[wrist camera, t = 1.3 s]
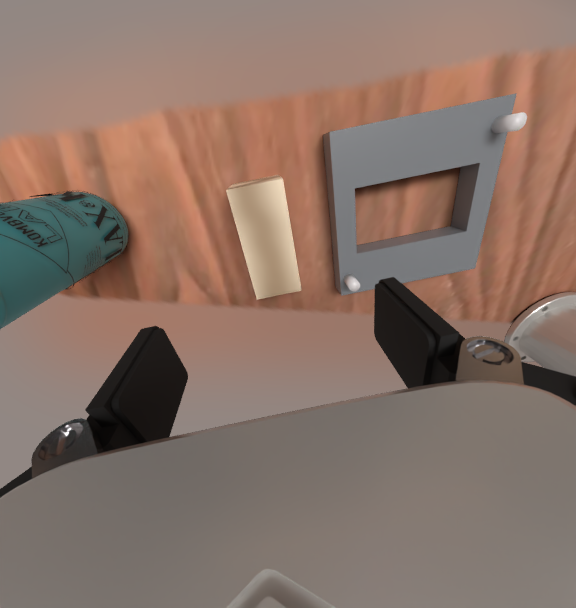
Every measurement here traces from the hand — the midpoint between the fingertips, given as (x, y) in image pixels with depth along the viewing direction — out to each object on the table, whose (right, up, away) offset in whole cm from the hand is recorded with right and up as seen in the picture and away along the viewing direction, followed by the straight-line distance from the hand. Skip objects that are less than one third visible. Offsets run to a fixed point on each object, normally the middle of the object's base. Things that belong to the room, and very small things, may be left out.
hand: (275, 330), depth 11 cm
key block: (-2, +9, +16) cm, 19 cm away
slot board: (+13, +12, +16) cm, 24 cm away
